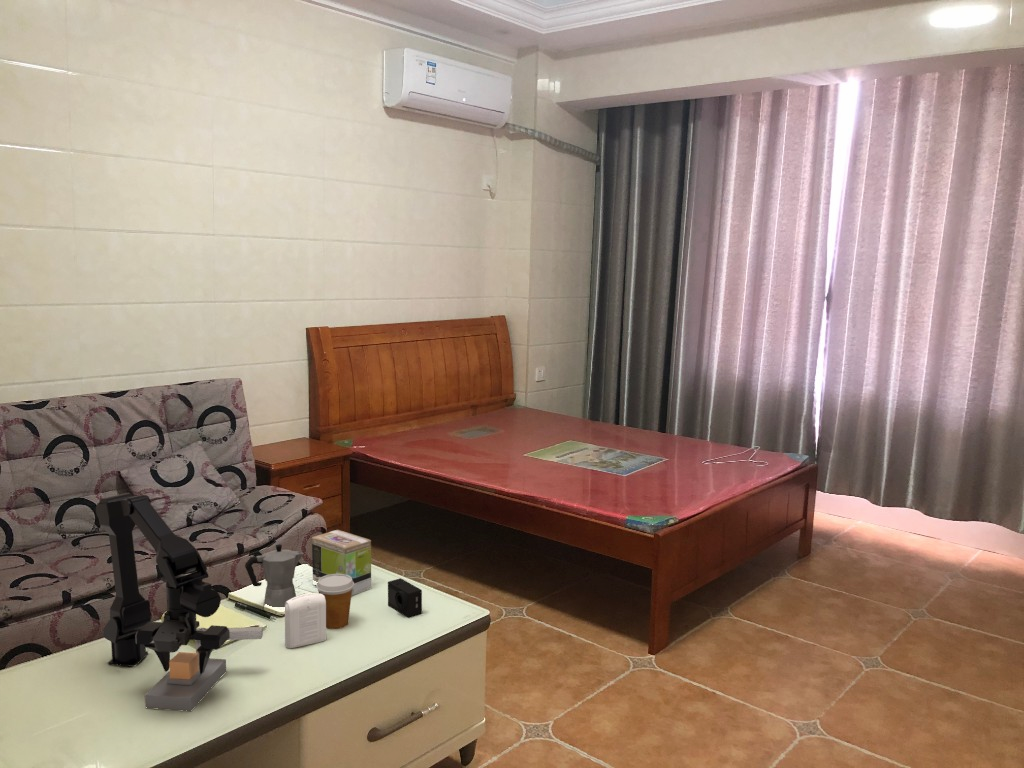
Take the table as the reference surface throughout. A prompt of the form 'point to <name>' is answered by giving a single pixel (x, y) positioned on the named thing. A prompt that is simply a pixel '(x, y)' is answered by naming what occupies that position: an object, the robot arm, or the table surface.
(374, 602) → the table surface
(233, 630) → the retention bar
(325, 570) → the tea box
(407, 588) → the digital camera
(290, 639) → the white rounded block
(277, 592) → the coffeepot
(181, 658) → the plug
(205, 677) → the socket block
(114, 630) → the robot arm
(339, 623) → the disposable coffee cup
